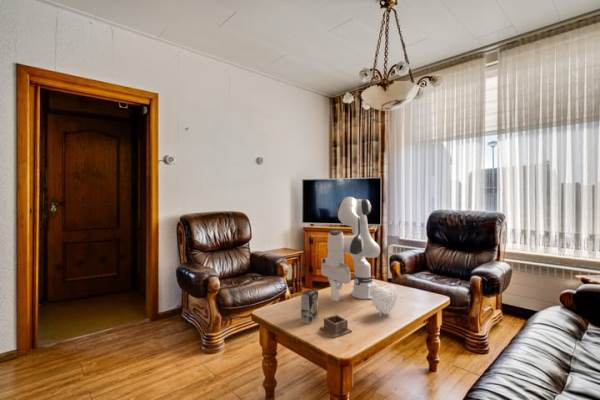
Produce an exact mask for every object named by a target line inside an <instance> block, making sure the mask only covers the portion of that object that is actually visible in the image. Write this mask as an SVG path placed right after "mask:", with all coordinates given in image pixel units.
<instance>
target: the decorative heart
mask: <svg viewBox="0 0 600 400" xmlns="http://www.w3.org/2000/svg"><path fill="white" fill-rule="evenodd" d="M376 291H377V292H376ZM378 291H379V292H378ZM377 293H378V295H376V294H377ZM381 294H383V295H381ZM374 298H375V299H374ZM397 299H398V291H397V288H396V287H395V286H394V285H392V284H386V285H384V286H379V287H377V288H375V289H374V290H373V292H372V300H371V301H372V303H373V304H372V305H373V306H374V307H375V309H376V310H377V311H378V312H379V313H380V316H382V314H383V316H386V315H388V314H389V313H391V311H392V310H393V309H394V307H395V305H396V303H397Z"/></svg>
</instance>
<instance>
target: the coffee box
mask: <svg viewBox="0 0 600 400" xmlns="http://www.w3.org/2000/svg"><path fill="white" fill-rule="evenodd" d="M300 295H301V296H300V298H301V302H300V322H302V323H305V324H308V325H311V324H312V323H314V322H315V321H317V319H318V318H319V291H318V290H313V289H307V290H305V291H303V292H302V293H301V294H300ZM318 320H319V319H318Z"/></svg>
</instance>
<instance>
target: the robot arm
mask: <svg viewBox="0 0 600 400" xmlns="http://www.w3.org/2000/svg"><path fill="white" fill-rule="evenodd" d="M371 210H372V205H371V201H370V200H369V199H366V198H362V199H359V198H355V197H353V196H346V197H344V198H343V200H342V201H341V200H340V201H339V203H338V204H337V217H338V220H339V221H340V222H341V224H343V225H345V226H348V227H351V232H352V235H347V234H346V235H345V234H344V233H343V231H342V230H339V229H333V230H331V231H329V232H328V236H327V243H326V246H327V256H326V257H325V258H321V262H320V263H321V264H320V265H321V267H320V268H321V271H320V272H321V275H322V276H323V277H326V278H327V280H328V282H329V287H331V280H332V279H334V280H336V281H338V283H339V285H338V286H337V289H338V290H342V287H343V284H345V285H347V284H350V283H351V282H352V276H351V270H350V267H349V265H348V264H345V254H349V255H350V256H351V258H352V261H353V264H354V265H353V266H354V275H353V280H354V282H353V287H352V288H353V289H352V294H351V296H353V297H354V298H357V299H362V300H371V301H372V292H373V290H374V289H375V288H377V287H380V286H379V285H378V284H377V283H376V282H374V280H375V278H376V276H375V275H371V274H372V273H371V272H372V269H371V268H372V267H371V263H369V262H368V260H367V259H366V258H368V259H369V258H370V259H371V258H372V259H373V258H377V257H378V256H379V255H380V253H381V246H380V245H379V244H378V242H376V241H375V240H374V239H373V237H372V235H371V233H370V229H369V223H368V217H367V215H369V214H370V213H371ZM376 292H377V291H376ZM378 292H379V291H378ZM376 295H378V293H377V294H376ZM381 295H384V294H381ZM374 299H375V298H374Z"/></svg>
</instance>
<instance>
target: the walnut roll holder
mask: <svg viewBox="0 0 600 400" xmlns="http://www.w3.org/2000/svg"><path fill="white" fill-rule="evenodd" d="M319 330H320V331H322V332H323V333H325V334H327V335H328V336H330V337H331V338H332V339H336V338H340V337H342V336H345V335H348V334H351V333H353V332H352V329H349V328H348V319H346V318H344V317H342V316H340V315H338V314H334V315H331V316H327V317H325V318H323V326H320V327H319Z"/></svg>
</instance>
